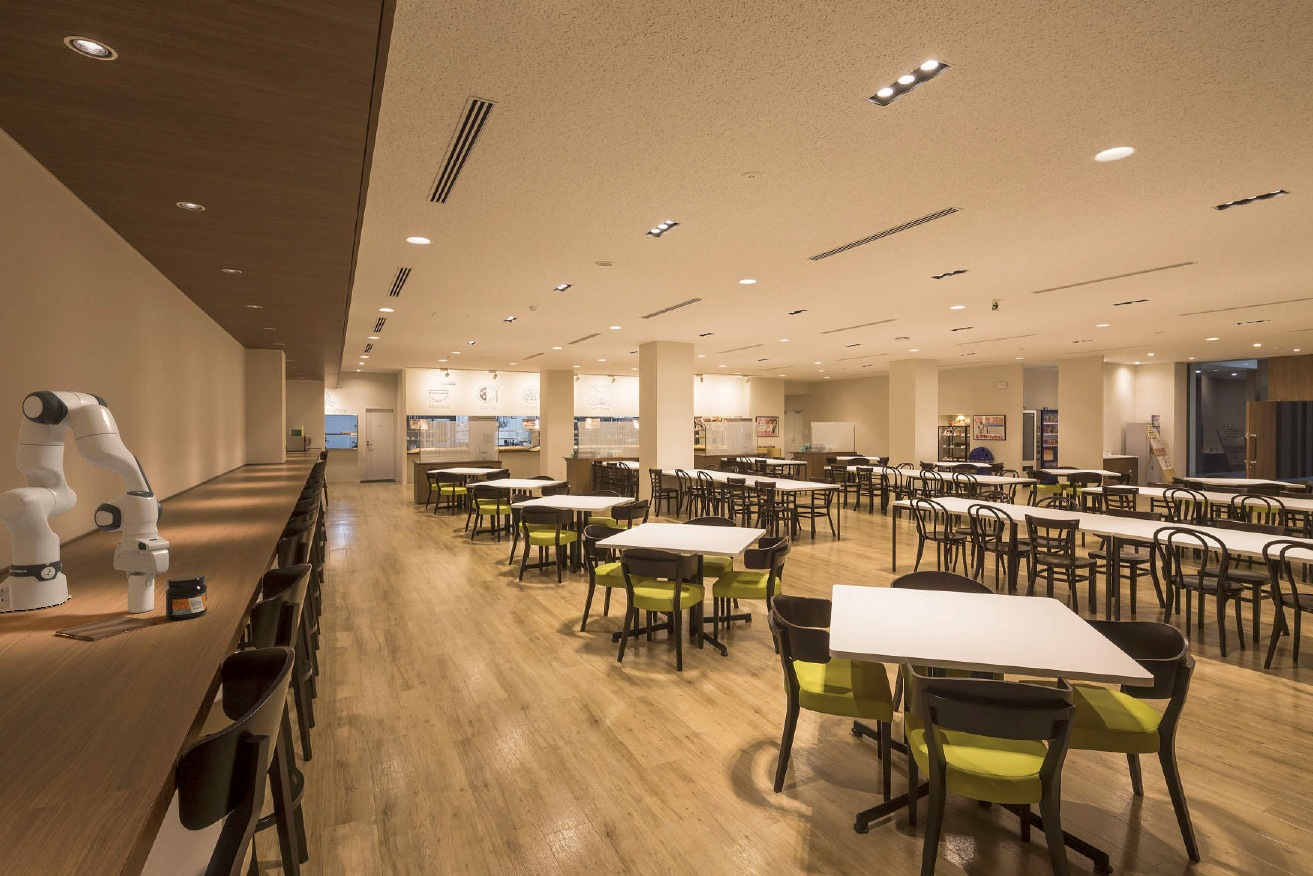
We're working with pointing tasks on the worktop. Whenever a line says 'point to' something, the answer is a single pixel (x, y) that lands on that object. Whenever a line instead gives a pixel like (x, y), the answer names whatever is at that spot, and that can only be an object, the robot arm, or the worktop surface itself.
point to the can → (139, 594)
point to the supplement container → (186, 597)
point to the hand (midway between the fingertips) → (140, 585)
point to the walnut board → (106, 627)
